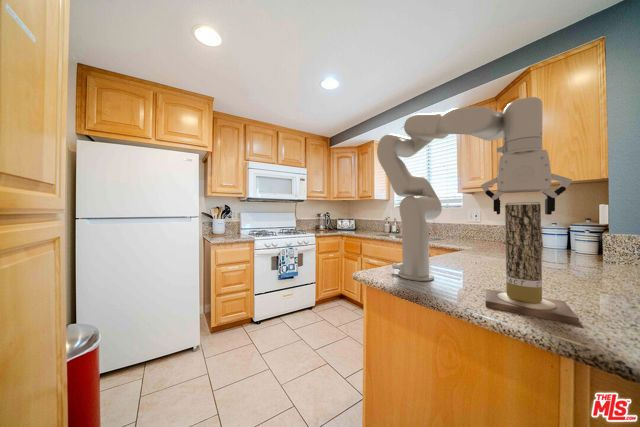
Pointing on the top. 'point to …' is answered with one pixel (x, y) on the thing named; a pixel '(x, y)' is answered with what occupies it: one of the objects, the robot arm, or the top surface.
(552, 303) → the walnut board
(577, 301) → the top surface
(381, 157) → the robot arm
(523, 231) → the brown cylinder
